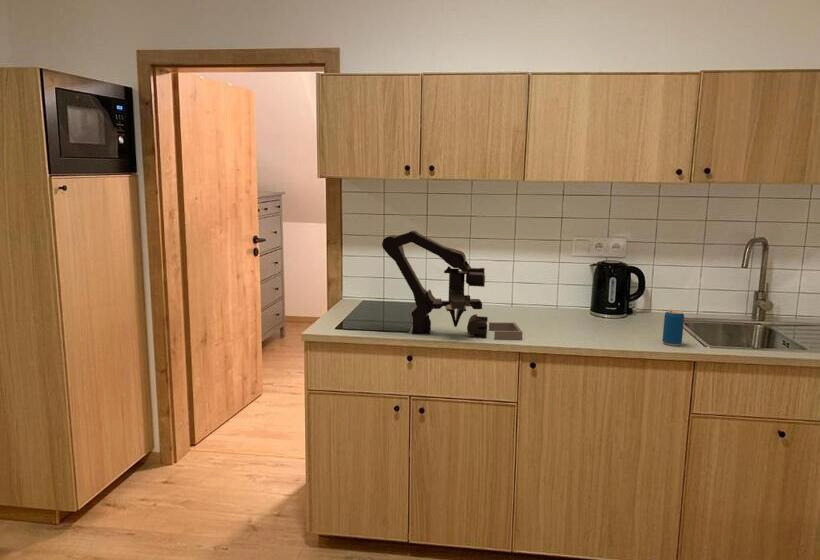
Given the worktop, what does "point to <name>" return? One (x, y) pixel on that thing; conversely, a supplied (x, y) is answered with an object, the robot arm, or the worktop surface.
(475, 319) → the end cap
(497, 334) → the grey shallow tray
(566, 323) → the worktop surface
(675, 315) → the beverage can
